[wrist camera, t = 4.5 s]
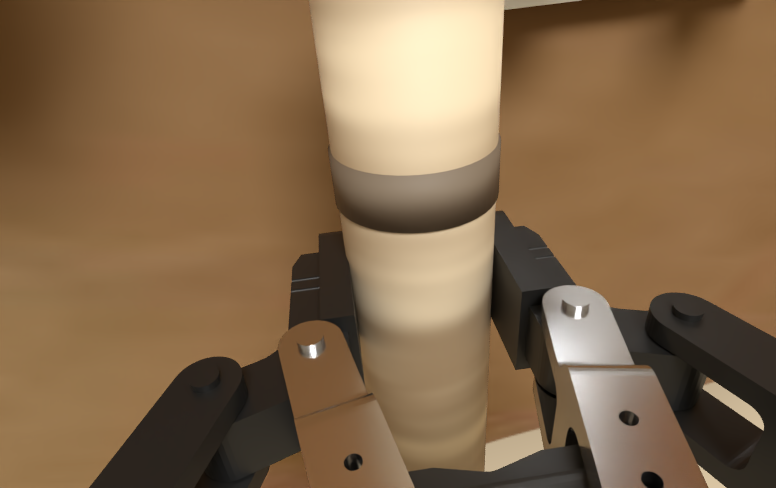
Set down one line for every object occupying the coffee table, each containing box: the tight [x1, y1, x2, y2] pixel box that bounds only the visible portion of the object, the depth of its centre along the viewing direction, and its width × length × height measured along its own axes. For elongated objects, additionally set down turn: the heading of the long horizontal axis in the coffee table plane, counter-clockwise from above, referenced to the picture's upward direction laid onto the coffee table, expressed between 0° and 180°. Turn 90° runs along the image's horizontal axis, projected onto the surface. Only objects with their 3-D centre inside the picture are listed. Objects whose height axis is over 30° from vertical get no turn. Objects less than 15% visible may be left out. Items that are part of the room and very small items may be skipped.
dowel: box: [309, 0, 504, 472], centre depth 13 cm, size 20×4×4 cm, turn 4°
